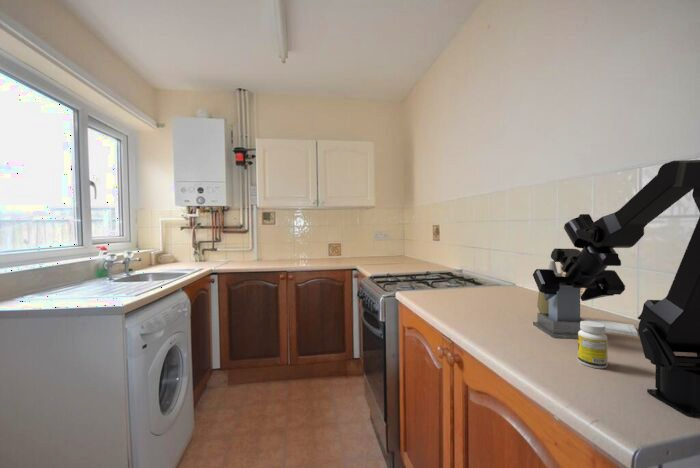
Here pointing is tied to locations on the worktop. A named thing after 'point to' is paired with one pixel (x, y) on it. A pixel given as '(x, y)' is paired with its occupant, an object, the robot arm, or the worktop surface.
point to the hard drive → (617, 327)
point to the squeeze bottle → (542, 303)
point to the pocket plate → (558, 326)
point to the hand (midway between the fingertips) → (563, 299)
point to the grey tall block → (565, 304)
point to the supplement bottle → (592, 344)
